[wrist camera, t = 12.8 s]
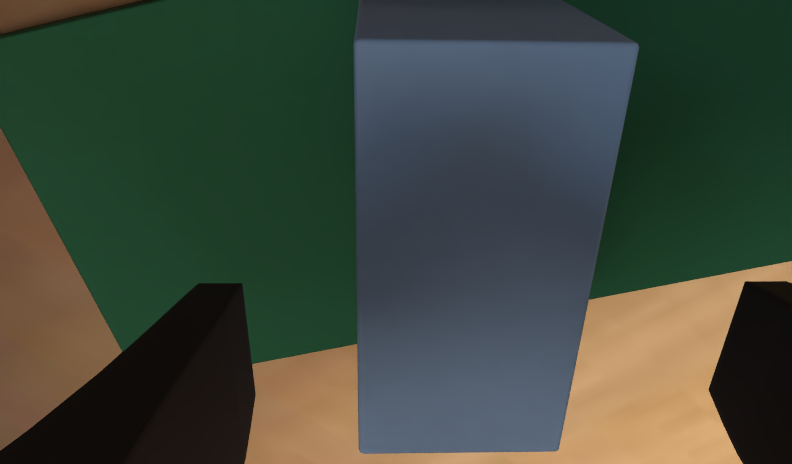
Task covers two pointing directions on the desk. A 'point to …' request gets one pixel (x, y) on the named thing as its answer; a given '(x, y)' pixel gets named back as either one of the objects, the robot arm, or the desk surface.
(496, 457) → the desk surface
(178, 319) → the robot arm
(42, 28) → the felt mat
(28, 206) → the desk surface
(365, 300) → the blue-grey rectangular block
